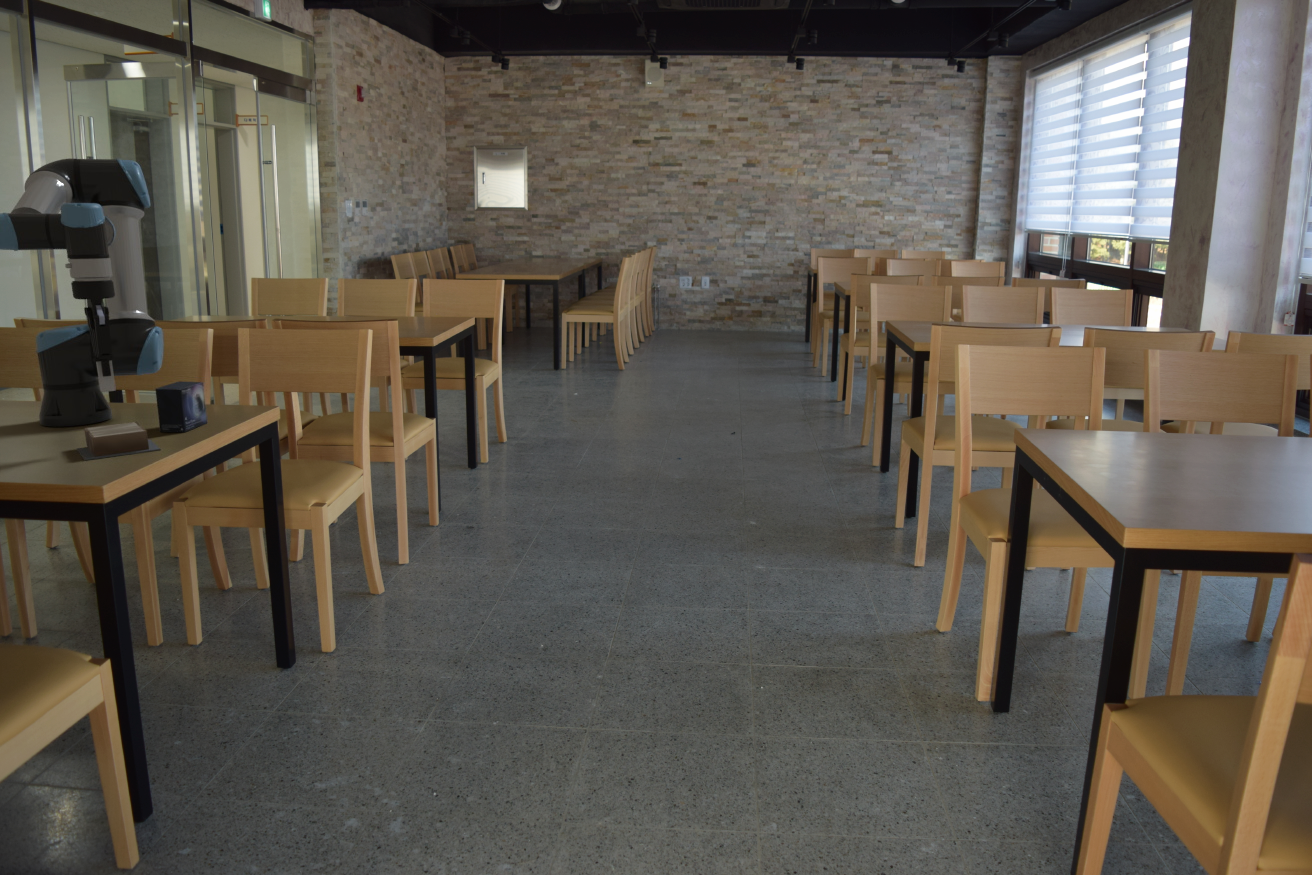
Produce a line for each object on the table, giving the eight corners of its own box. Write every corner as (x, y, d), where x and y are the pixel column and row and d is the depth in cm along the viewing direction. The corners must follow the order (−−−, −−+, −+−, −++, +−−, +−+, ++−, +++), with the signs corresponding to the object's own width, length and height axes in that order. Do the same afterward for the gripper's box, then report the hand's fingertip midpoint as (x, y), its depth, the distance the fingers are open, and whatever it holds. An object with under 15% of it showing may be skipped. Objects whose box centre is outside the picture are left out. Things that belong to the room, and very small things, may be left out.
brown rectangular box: (84, 427, 196) (92, 437, 187) (136, 421, 202) (146, 430, 193) (86, 446, 197) (95, 456, 188) (138, 439, 203) (149, 449, 194)
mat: (76, 449, 195) (76, 448, 195) (149, 440, 204) (149, 438, 204) (84, 460, 186) (84, 459, 186) (160, 450, 194) (160, 448, 194)
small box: (186, 433, 211) (181, 388, 208) (158, 433, 211) (153, 388, 208) (209, 423, 221) (204, 380, 219) (183, 423, 221) (177, 380, 219)
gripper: (66, 278, 191) (83, 388, 197) (74, 281, 182) (92, 397, 187) (107, 277, 196) (122, 384, 201) (117, 280, 186) (133, 393, 192)
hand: (108, 390), depth 194 cm, fingers closed
